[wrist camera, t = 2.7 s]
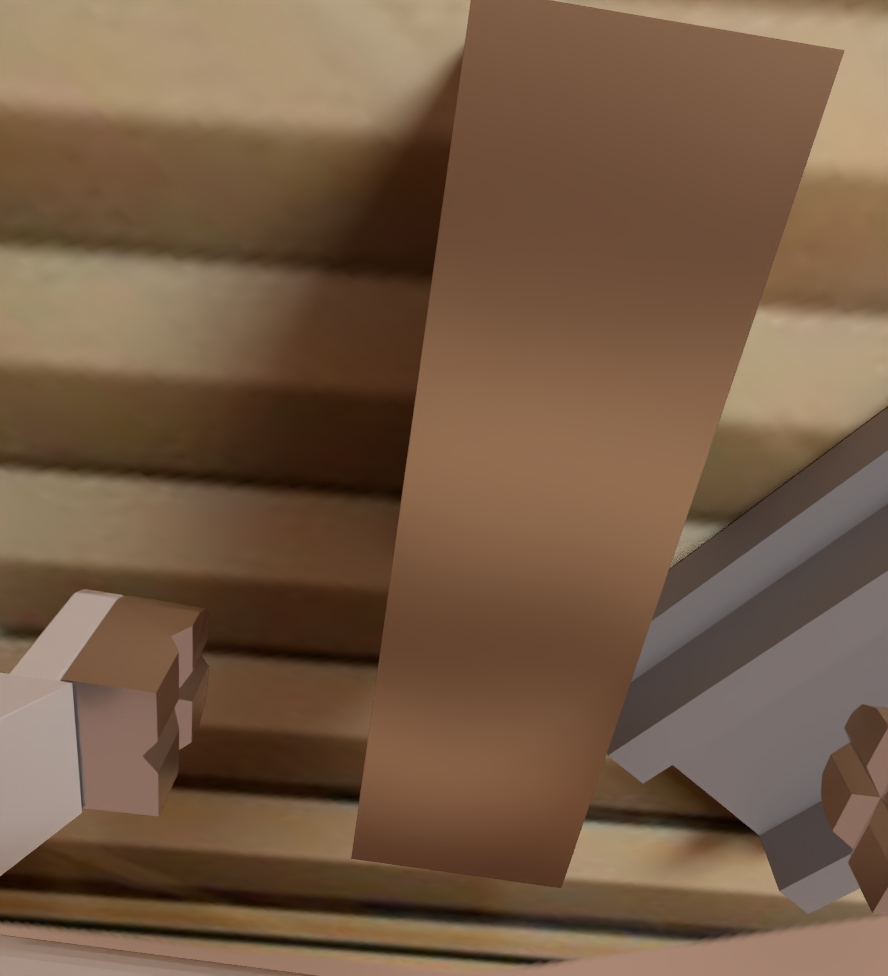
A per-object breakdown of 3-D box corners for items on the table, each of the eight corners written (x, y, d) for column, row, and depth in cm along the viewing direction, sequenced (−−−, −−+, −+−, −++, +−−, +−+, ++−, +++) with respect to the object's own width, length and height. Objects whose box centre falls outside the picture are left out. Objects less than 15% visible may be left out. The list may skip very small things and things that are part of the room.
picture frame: (480, 29, 17) (472, -13, 8) (674, 63, 17) (871, 54, 8) (401, 564, 24) (351, 858, 15) (543, 585, 24) (576, 890, 15)
